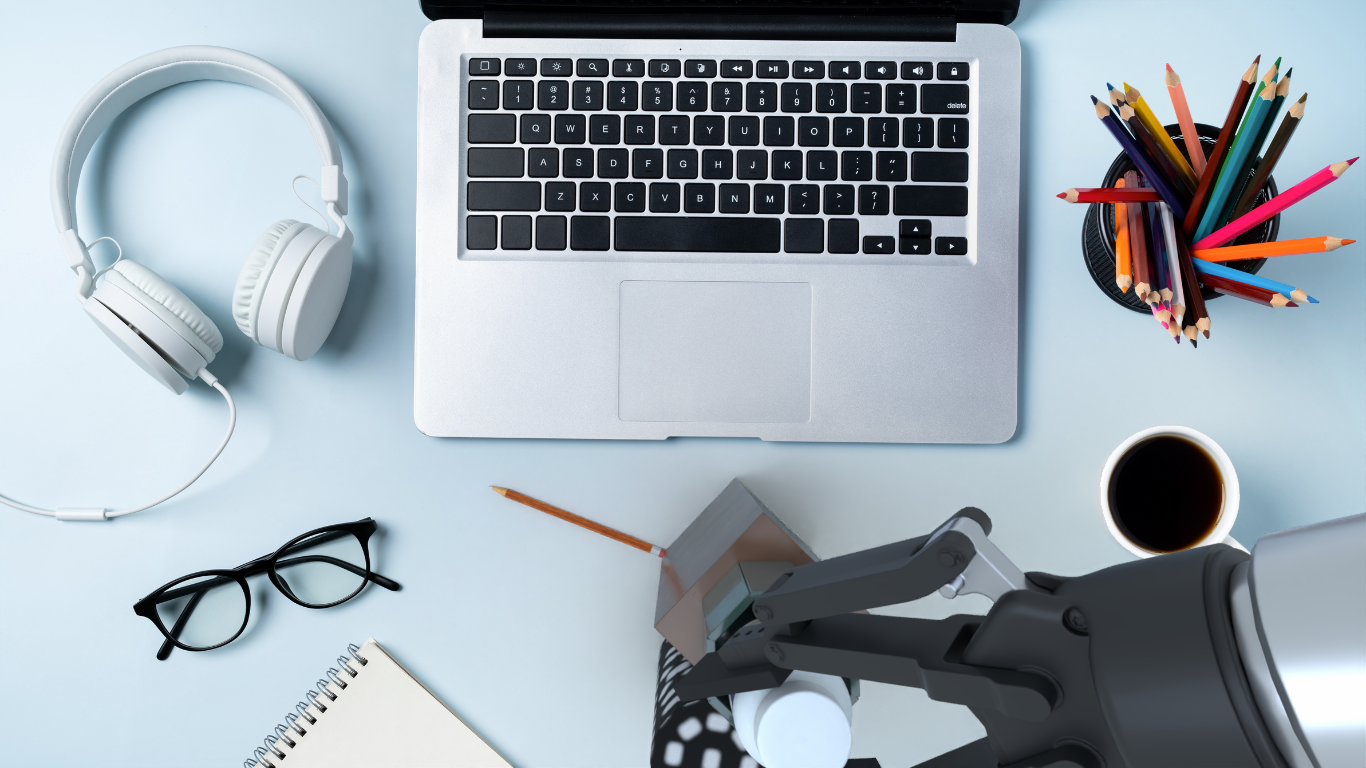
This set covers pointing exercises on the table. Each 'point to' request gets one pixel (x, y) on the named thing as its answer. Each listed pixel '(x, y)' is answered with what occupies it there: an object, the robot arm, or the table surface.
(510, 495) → the pencil
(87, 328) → the table surface
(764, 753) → the pill bottle
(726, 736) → the white-spotted black cylinder
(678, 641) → the stand
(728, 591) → the cup
